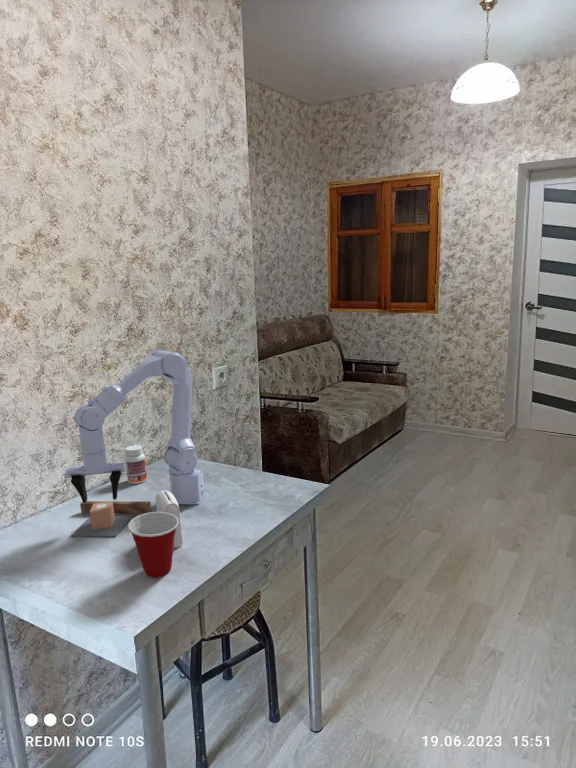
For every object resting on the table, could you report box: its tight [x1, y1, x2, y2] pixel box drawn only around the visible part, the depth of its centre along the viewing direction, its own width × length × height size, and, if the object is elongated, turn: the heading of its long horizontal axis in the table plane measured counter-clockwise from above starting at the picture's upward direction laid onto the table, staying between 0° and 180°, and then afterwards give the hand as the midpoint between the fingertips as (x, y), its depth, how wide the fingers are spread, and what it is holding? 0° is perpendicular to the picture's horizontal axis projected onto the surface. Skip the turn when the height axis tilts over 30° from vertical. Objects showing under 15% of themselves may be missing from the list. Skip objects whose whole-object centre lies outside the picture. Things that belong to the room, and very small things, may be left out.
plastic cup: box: [127, 511, 179, 578], centre depth 119 cm, size 11×11×12 cm
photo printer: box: [155, 489, 183, 549], centre depth 133 cm, size 10×4×12 cm, turn 26°
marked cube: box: [89, 502, 115, 529], centre depth 143 cm, size 5×5×5 cm
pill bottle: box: [124, 444, 148, 485], centre depth 173 cm, size 6×6×11 cm
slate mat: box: [70, 514, 135, 538], centre depth 143 cm, size 12×12×1 cm
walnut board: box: [79, 500, 152, 515], centre depth 151 cm, size 20×2×3 cm, turn 83°
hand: (100, 499), depth 142 cm, fingers open, 7 cm apart
